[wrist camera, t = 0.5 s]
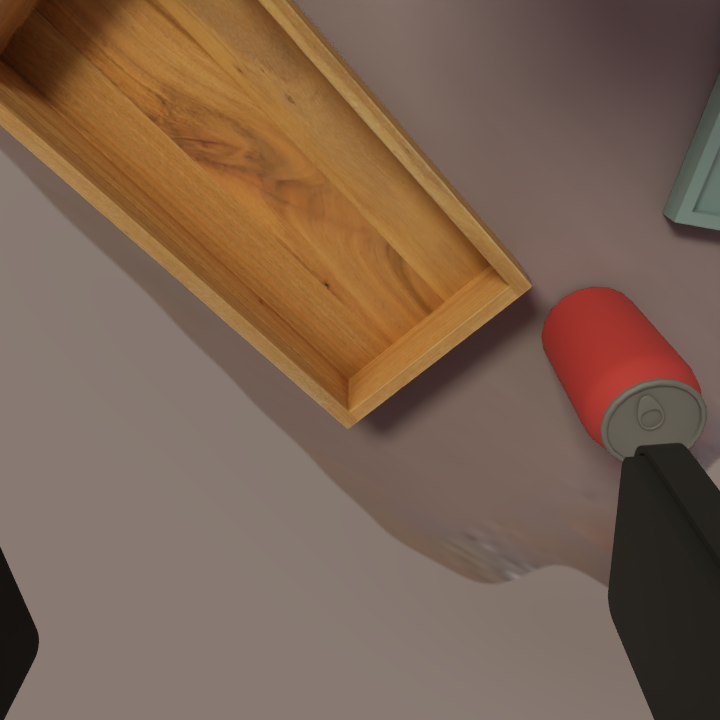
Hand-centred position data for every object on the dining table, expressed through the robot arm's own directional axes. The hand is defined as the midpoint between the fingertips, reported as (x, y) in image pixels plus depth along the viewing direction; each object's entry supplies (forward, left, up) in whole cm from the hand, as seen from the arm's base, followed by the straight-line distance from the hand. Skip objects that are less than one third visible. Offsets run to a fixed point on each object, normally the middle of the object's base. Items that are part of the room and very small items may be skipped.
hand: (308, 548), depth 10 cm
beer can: (+10, +18, -35) cm, 40 cm away
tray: (+3, -5, -35) cm, 35 cm away
